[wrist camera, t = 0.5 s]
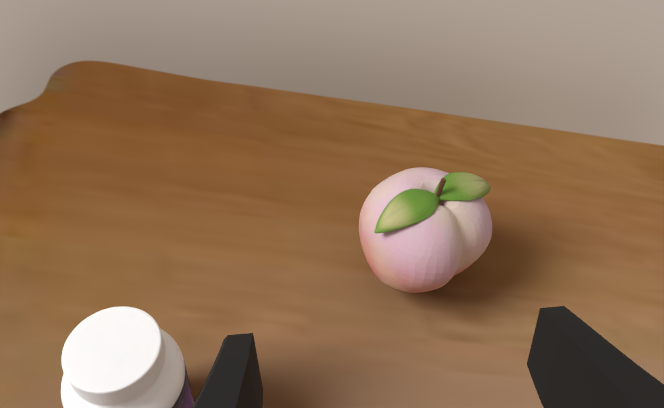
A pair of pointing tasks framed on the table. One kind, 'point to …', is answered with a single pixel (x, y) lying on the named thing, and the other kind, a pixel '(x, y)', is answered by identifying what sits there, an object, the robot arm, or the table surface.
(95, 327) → the pill bottle
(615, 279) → the table surface
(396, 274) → the decorative fruit
